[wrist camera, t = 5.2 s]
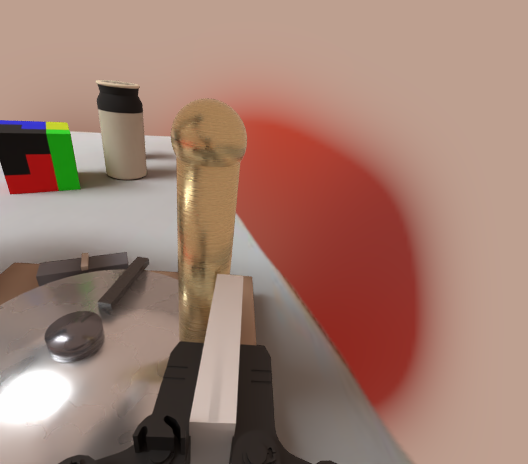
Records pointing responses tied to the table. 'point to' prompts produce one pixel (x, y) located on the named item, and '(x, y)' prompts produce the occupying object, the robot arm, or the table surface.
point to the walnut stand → (35, 275)
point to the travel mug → (122, 129)
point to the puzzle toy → (37, 157)
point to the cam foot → (120, 315)
